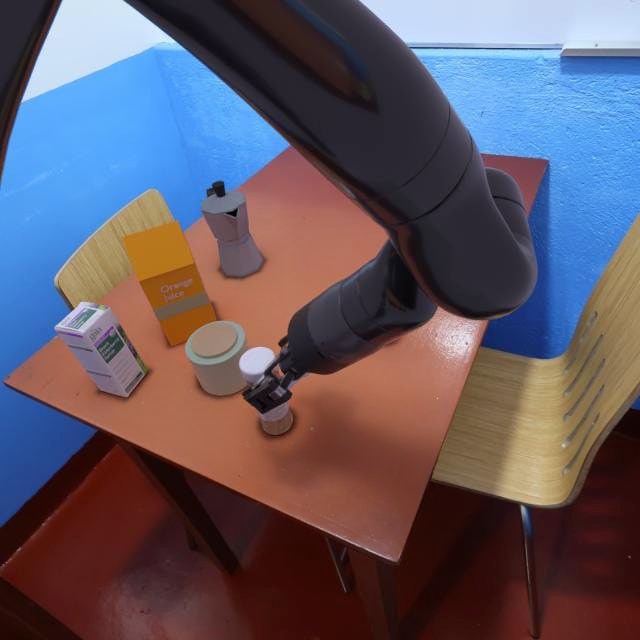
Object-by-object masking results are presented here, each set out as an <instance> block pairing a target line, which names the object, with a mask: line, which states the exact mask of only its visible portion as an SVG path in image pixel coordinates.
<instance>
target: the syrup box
mask: <svg viewBox="0 0 640 640" xmlns="http://www.w3.org/2000/svg"><path fill="white" fill-rule="evenodd" d="M53 328H54V331H55V332H56V333H57V335H58V336H59V337H60V339H61V340H62V341H63V343H64V344H65V345H66V347H67V348H68V350H70V352H71V353H72V355H73V356H74V357H75V359H76V360H77V361H78V362H79V364H80V365H81V367H82V368H83V370H84V371H85V372H86V373H87V375H88V376H89V377H90V379H91V380H92V381H93V383H94V384H95V385H96V387H97V388H98V389H99V391H101V392H105V393H108V394H112V395H115V396H119V397H123V398H129V397H130V395H131V393H132V392H133V391H134V389H135V388H136V387H137V386H138V385H139V383H140V382H141V381H142V380H143V378H144V377H145V376H146V375H147V374H148V372H149V369H148V367H147V366H146V365H145V363H144V361H143V360H142V358H141V356H140V355H139V353H138V351H137V349H136V348H135V346H134V345H133V343H132V341H131V340H130V338H129V336H128V335H127V333H126V332H125V330H124V328H123V326H122V325H121V323H120V322H119V320H118V318H117V317H116V315H115V313H114V312H113V310H112V309H111V307H110V306H108V305H104V304H99V303H94V302H88V301H80V302H79V303H78V304H77V306H76V307H75V308H73V310H72V311H70V312H69V313H68V314H67V315H66V316H64V318H63V319H62V320H61V321H60V322H58V323H57V324H56V325H55V326H54V327H53Z"/></svg>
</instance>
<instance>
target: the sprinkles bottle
mask: <svg viewBox="0 0 640 640" xmlns="http://www.w3.org/2000/svg"><path fill="white" fill-rule="evenodd" d="M275 357H276V354H275V353H274V351H273V349H271V348H268V347H266V346H256V347H252V348H250V350H248V351H246V352H245V353H244V354H243V355H242V357H241V358H240V361H239V367H240V370H241V373H242V375H243V377H244V379H245V380H246V382H247V384H248V385H247V387H249V386H250V385H252V384H254V383H255V382H257V381H258V380H259V379H260V378H261V377H262V376H263V375H264V370H265V367H266V366H267V365H268V364H269V363H270V362H271V361H272V360H273V359H274V358H275ZM274 370H275V371H276V372H277V373H278V374H279V375H280V372H279V364H278V365H277V366H276V367H275V368H274ZM268 381H269V380H267V381H266V382H268ZM266 382H265V383H266ZM265 383H264V384H265ZM289 405H290V404H289V401H287V402H285V403H283V404H282V405H280V406H278V407H276V408H274V409H272V410H270V411H268V412H267V413H265V414H263V415H262V414H261V413H260V412H259V411H258V410H257V409H256V408H255V410H256V413H257V415H258V417H259V419H260V422H261V428H262V429H263V431H264V432H265V433H267V434H269V435H273V436H278V435H282V434H284V433H286V432H288V431H289V430H290V428H291V427H292V425H293V422H294V416H293V413H292V412H291V410H290V406H289Z"/></svg>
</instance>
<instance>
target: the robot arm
mask: <svg viewBox="0 0 640 640" xmlns="http://www.w3.org/2000/svg"><path fill="white" fill-rule="evenodd" d="M63 1H64V0H0V190H1V187H2V182H3V175H4V170H5V166H6V165H5V164H6V161H7V155H8V151H9V147H10V141H11V138H12V135H13V131H14V128H15V125H16V122H17V118H18V116H19V111H20V108H21V106H22V102H23V99H24V98H25V97H24V96H25V94H26V91H27V89H28V86H29V83H30V80H31V78H32V75H33V73H34V70H35V68H36V65H37V62H38V60H39V56H40V54H41V52H42V50H43V47H44V45H45V43H46V40H47V38H48V36H49V33H50V31H51V29H52V26H53V25H54V22H55V19H56V17H57V15H58V12H59V10H60V8H61V5H62V4H63ZM122 1H123V2H124V3H125V4H127V5H128V6H130V7H131V8H132V9H134V10H135V11H136V12H137V13H139V14H140V15H141V16H142V17H144V18H145V19H146V20H147V21H149V22H150V23H151V24H153V25H154V26H155V27H157V28H158V29H159V30H160V31H161V32H163V33H164V34H165V35H167V36H168V37H169V38H170V39H172V40H173V41H174V42H175V43H176V44H178V45H179V46H180V47H181V48H183V49H184V50H185V51H186V52H188V54H190V55H191V56H192V57H193V58H195V59H196V60H197V61H198V62H199V63H201V64H202V65H203V66H204V67H205V68H207V69H208V70H209V71H210V72H211V73H212V74H213V75H214V76H216V77H217V78H218V79H219V80H220V81H221V82H222V83H224V84H225V85H226V86H227V87H228V88H229V89H230V90H231V91H232V92H234V94H236V96H238V97H239V98H240V99H241V100H242V101H243V102H244V103H246V104H247V106H249V107H250V108H251V109H252V110H253V111H254V112H255V113H256V114H257V115H258V116H259V117H260V118H262V120H263V121H264V122H266V123H267V124H268V125H269V126H270V127H271V128H272V129H273V130H275V132H276V133H277V134H278V135H280V136H281V138H283V139H284V140H285V141H286V142H287V143H288V144H289V145H290V146H291V147H292V148H293V149H294V150H295V151H297V153H298V154H299V155H301V157H303V158H304V159H305V160H306V161H307V162H308V163H309V164H310V165H311V166H312V167H313V168H314V169H316V170H317V171H318V173H319V174H320V175H322V176H323V177H324V178H325V179H326V180H327V181H328V182H330V183H331V184H332V185H333V186H334V187H335V188H336V190H338V191H339V192H340V193H342V194H343V195H344V196H345V197H346V198H347V199H348V200H349V201H350V202H351V203H352V204H353V205H354V206H356V207H357V208H358V209H359V210H360V211H361V212H362V213H364V214H365V215H366V216H367V217H368V218H369V219H371V220H372V221H373V222H374V223H375V224H376V225H378V226H379V227H380V228H381V229H382V230H383V231H384V232H385V234H386V235H387V237H388V238H387V239H386V241H385V242H384V244H383V245H382V247H381V248H380V250H379V251H378V253H377V255H375V257H373V258H371V260H368V261H367V262H366V263H365V264H364V265H363V266H361V267H359V268H358V269H357V270H356V271H354V272H353V273H351V274H350V275H348V276H347V277H345V278H343V279H341V280H339V281H337V282H335V283H333V284H332V285H330V286H329V287H328V288H326V289H325V290H324V291H322V292H321V293H320V294H318V295H317V296H315V297H314V298H313V299H311V300H310V301H309V302H308V303H306V304H305V305H303V306H302V307H301V308H299V309H298V310H297V311H296V312H294V314H293V315H292V316H291V318H290V320H289V322H288V325H287V331H286V332H287V333H286V335H285V336H283V337H281V338H280V339H279V341H278V342H277V345H278V346H279V347H280V350H279V353H278V354H277V355H275V358H274V359H273V360H272V361H271V362H270V363H269V364H268V365H267V366H266V367H265V370H264V375H263V376H262V377H261V378H260V379H259V380H258V381H257V382H255V383H254V384H252V385H250V386H249V387H248V386H246V387H244V389H243V391H242V392H241V396H242V399H243V400H244V401H245V402H247V403H248V404H249V405H250V406H251V407H253V408H255V410H256V409H257V410H258V411H259V412H260V413H261V414H262V415H263V414H265V413H267V412H268V411H270V410H272V409H274V408H276V407H278V406H280V405H282V404H283V403H285V402H287V401H288V402H289V401H290V400H291V399H292V396H293V394H294V392H292V391H291V389H292V388H293V387H295V385H296V384H297V383H298V382H299V381H300V380H302V378H307V376H309V375H310V374H313V375H314V374H315V375H318V376H319V375H320V376H329V375H333V374H335V373H338V372H339V371H342V370H345V369H346V368H348V367H349V366H352V365H354V364H356V363H359V362H360V361H362V360H364V359H367V358H368V357H370V356H372V355H374V354H376V353H378V352H379V351H381V350H383V348H384V347H386V346H387V345H389V344H391V343H392V342H395V341H396V340H398V339H401V338H402V337H405V336H407V335H409V334H411V333H413V332H415V331H417V330H419V329H420V328H423V327H424V326H425V325H426V324H428V323H429V322H430V321H431V320H433V318H434V317H435V315H436V312H437V310H438V308H440V309H441V310H443V311H444V312H446V313H448V314H450V315H452V316H455V317H458V318H461V319H465V320H469V321H478V322H482V321H493V320H497V319H500V318H504V317H507V316H509V315H510V314H512V313H514V312H515V311H517V310H519V308H521V307H522V306H524V304H525V303H527V300H528V299H529V298H530V297H531V296H532V294H533V292H534V290H535V287H536V285H537V281H538V273H539V270H538V269H539V268H538V260H537V256H536V255H537V254H536V251H535V247H534V243H533V238H532V232H531V229H530V224H529V220H528V215H527V211H526V205H525V201H524V197H523V194H522V191H521V189H520V186H519V185H518V183H517V182H516V180H515V178H513V177H512V176H511V175H510V174H508V173H507V172H505V171H503V170H500V169H499V168H494V167H489V166H487V167H486V166H485V163H484V161H483V157H482V155H481V152H480V149H479V147H478V145H477V143H476V140H475V139H474V136H473V135H472V134H471V132H470V130H469V129H468V127H467V126H466V124H465V123H464V121H463V119H462V118H461V116H460V115H459V113H458V112H457V110H456V108H455V107H454V105H453V104H452V102H451V101H450V99H449V98H448V97H447V95H446V93H445V92H444V90H443V89H442V87H441V86H440V84H439V82H438V81H437V80H436V79H435V77H434V76H433V74H432V73H431V72H430V70H429V69H428V67H427V66H426V64H425V63H423V61H422V60H421V59H420V58H419V56H418V55H417V54H416V52H414V51H413V50H412V48H410V46H409V45H408V44H407V43H406V42H405V41H404V40H403V39H402V38H401V37H400V36H399V35H398V34H397V33H396V32H394V30H393V29H391V27H390V26H389V25H388V24H387V23H385V22H384V21H383V20H382V19H381V18H380V17H379V16H377V14H376V13H374V12H373V11H372V10H371V9H370V8H369V7H368V6H366V5H365V4H364V3H363V2H362V1H361V0H122ZM277 365H278V368H279V369H280V371H281V373H282V375H280V373H279V374H278V373H277V372H276V371H275V370H274V368H275V367H276V366H277ZM267 380H269V381H268V382H266V381H267ZM265 382H266V383H265ZM264 383H265V384H264Z"/></svg>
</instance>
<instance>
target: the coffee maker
mask: <svg viewBox="0 0 640 640" xmlns="http://www.w3.org/2000/svg"><path fill="white" fill-rule="evenodd" d="M205 193H206V197H205V198H204V199H202V200H201V206H200V212H201V213H202V216H203V217H204V219H205V222H206V223H207V225H208V227H209V230H210V231H211V234H212V236H213V238H214V239H217V240H216V243H217V244H216V245H217V249H218V257H219V264H220V270H221V271H222V272H223V274H224V276H226V277H227V278H237V279H239V278H240V279H243V278H245V277H247V276H250V275H252V274H254V273H257V272H259V270H260V268H261V267H262V265H263V263H264V258H263V257H262V255H261V252H260V250H259V248H258V246H257V244H256V242H255V240H254V237H253V234H251V232H250V222H249V215H248V214H249V213H248V207H247V199H246V192H243V191H239V190H236V189H227V190H226V187H225V181H223V180H218V181H215V182H213V183H211V187H209V188H207V189H206V191H205Z"/></svg>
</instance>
